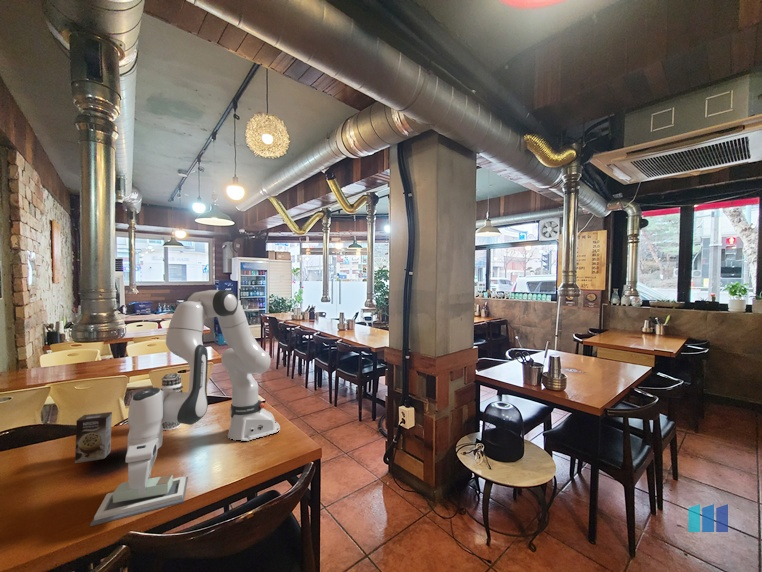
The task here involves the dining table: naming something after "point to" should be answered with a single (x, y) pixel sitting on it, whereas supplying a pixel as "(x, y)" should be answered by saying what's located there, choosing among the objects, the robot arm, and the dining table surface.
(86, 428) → the coffee box
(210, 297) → the robot arm
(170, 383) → the decorative candle
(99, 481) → the dining table surface
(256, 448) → the dining table surface
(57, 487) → the dining table surface
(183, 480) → the picture frame
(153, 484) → the pale green rectangular block
